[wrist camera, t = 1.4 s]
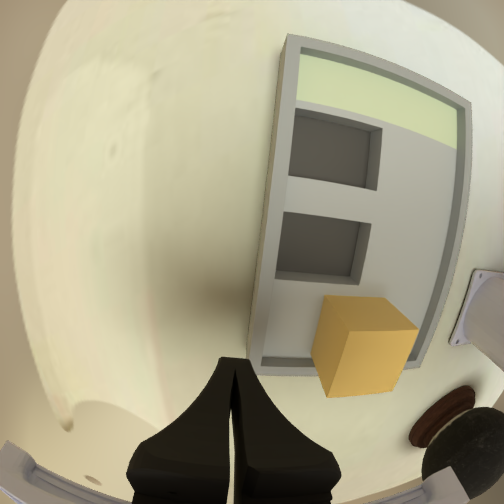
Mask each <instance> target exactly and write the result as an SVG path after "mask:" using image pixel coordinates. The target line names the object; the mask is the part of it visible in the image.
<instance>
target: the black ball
mask: <svg viewBox="0 0 504 504" xmlns="http://www.w3.org/2000/svg"><path fill="white" fill-rule="evenodd" d="M474 404H475V392H474V390H473V389H472V388H471V387H470V386H463V387H459V388H457V389H455V390H453V391H452V392H450V393H448V394H447V395H445V396H444V397H442V398H441V399H440V400H439V401H437V402H436V403H435V404H434V405H433V406H431V407H430V408H429V409H428V410H427V411H426V412H425V413H424V414H423V415H422V416H421V417H420V419H419V420H418V421H417V422H416V423H415V425H414V426H413V428H412V429H411V431H410V434H409V441H410V442H411V444H412V445H413V446H416V447H419V448H426V447H427V449H426V451H425V455H424V458H423V462H422V480H423V481H424V480H425V479H427V478H428V477H429V476H431V475H432V474H434V473H436V472H438V471H441V470H443V469H445V468H447V467H449V466H451V468H452V470H453V471H454V473H455V475H456V476H457V478H458V480H459V481H460V483H461V485H462V487H463V488H464V490H465V492H466V494H467V495H468V497H469V499H473V498H475V497H477V496H479V495H481V494H482V493H484V492H485V491H486V490H488V489H489V488H491V486H493V485H494V484H495V483H496V482H497V481H498V480H499V478H500V477H501V476H502V474H503V473H504V413H503V412H501V411H498V410H496V409H494V408H489V407H478V408H473V407H474Z"/></svg>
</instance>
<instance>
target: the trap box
mask: <svg viewBox="0 0 504 504" xmlns="http://www.w3.org/2000/svg"><path fill="white" fill-rule="evenodd" d="M471 167H472V109H471V102H469V101H468V100H466V99H464V98H463V97H461V96H459V95H458V94H456V93H454V92H453V91H451V90H449V89H447V88H445V87H444V86H442V85H440V84H438V83H436V82H434V81H432V80H430V79H428V78H426V77H424V76H422V75H420V74H418V73H415V72H413V71H411V70H409V69H407V68H404V67H402V66H399V65H397V64H395V63H392V62H390V61H387V60H384V59H382V58H379V57H376V56H373V55H371V54H368V53H365V52H362V51H358V50H355V49H352V48H349V47H345V46H342V45H338V44H334V43H330V42H326V41H322V40H318V39H313V38H309V37H304V36H299V35H293V34H287V37H286V40H285V42H284V45H283V48H282V52H281V55H280V65H279V74H278V83H277V92H276V101H275V110H274V119H273V128H272V137H271V146H270V155H269V164H268V172H267V181H266V190H265V198H264V207H263V215H262V224H261V232H260V240H259V249H258V257H257V265H256V274H255V282H254V290H253V298H252V306H251V314H250V322H249V330H248V338H247V346H246V359H249V360H250V361H251V364H252V367H253V369H254V371H255V374H256V375H265V376H318V373H317V370H316V367H315V365H314V362H313V359H312V357H311V354H310V353H311V349H312V346H313V342H314V338H315V334H316V330H317V326H318V322H319V317H320V313H321V309H322V304H323V300H324V295H340V296H359V297H383V298H386V299H387V300H388V301H389V302H390V303H391V304H393V305H394V306H395V307H396V308H397V309H398V310H399V311H400V312H401V313H402V314H403V315H405V316H406V317H407V318H408V319H409V320H410V321H411V322H412V323H413V324H414V325H415V326H416V327H417V328H418V329H419V332H418V334H417V337H416V340H415V342H414V345H413V347H412V349H411V352H410V354H409V357H408V359H407V361H406V363H405V366H404V368H403V370H405V369H413V368H419V367H420V365H421V363H422V361H423V359H424V356H425V354H426V352H427V349H428V347H429V345H430V342H431V340H432V338H433V335H434V333H435V330H436V327H437V325H438V322H439V319H440V317H441V314H442V311H443V308H444V305H445V302H446V299H447V296H448V293H449V289H450V286H451V282H452V279H453V275H454V272H455V268H456V264H457V260H458V256H459V251H460V247H461V242H462V237H463V232H464V226H465V220H466V214H467V207H468V200H469V191H470V180H471Z"/></svg>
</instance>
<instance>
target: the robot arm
mask: <svg viewBox="0 0 504 504" xmlns="http://www.w3.org/2000/svg"><path fill="white" fill-rule="evenodd" d="M469 343H472V344H473V345H475V346H476V347H477V348H478V349H479V350H480V351H482V352H483V353H484V354H485V355H486V356H487V357H488V358H489V359H491V360H492V361H493V362H494V363H495V364H496V365H497V366H498V367H499V368H500V369H501V370H503V371H504V273H503V272H495V271H487V270H478V269H476V270H475V271H474V272H473V275H472V279H471V282H470V286H469V289H468V292H467V296H466V299H465V302H464V305H463V308H462V310H461V313H460V316H459V319H458V321H457V324H456V327H455V329H454V332H453V334H452V336H451V339H450V342H449V344H450V345H451V346H457V345H463V344H469ZM230 411H231V413H232V425H233V436H234V449H235V462H234V504H331V502H330V501H331V500H332V494H331V490H332V489H333V487H334V486H335V485H336V484H337V483H338V481H339V480H340V478H341V471H340V468H339V465H338V463H337V461H336V459H335V457H334V455H333V453H332V452H330V451H328V450H327V449H325V448H323V447H322V446H320V445H318V444H316V443H315V442H313V441H312V440H311V439H309V438H308V437H306V436H305V435H304V434H303V433H302V432H300V431H299V430H298V429H297V428H296V427H295V426H294V425H292V424H291V423H290V422H289V421H288V420H287V419H286V418H285V417H284V415H283V414H282V413H281V412H280V411H279V410H278V408H277V407H276V406H275V405H274V403H273V402H272V401H271V399H270V398H269V396H268V395H267V393H266V392H265V390H264V388H263V387H262V385H261V383H260V382H259V380H258V378H257V376H256V374H255V371H254V369H253V367H252V364H251V361H250V360H249V359H242V358H229V357H221V358H219V361H218V364H217V366H216V369H215V371H214V373H213V375H212V376H211V378H210V380H209V381H208V383H207V385H206V386H205V388H204V389H203V390H202V392H201V393H200V394H199V396H198V397H197V398H196V400H195V401H194V402H193V403H192V404H191V405H190V406H189V407H188V408H187V410H185V411H184V412H183V413H182V414H181V415H180V416H179V417H178V418H177V419H176V420H175V421H173V422H172V423H171V424H170V425H168V426H167V427H165V428H164V429H163V430H161V431H160V432H158V433H157V434H155V435H154V436H152V437H150V438H148V439H147V440H145V441H143V442H141V443H140V444H139V446H138V447H137V449H136V450H135V452H134V454H133V456H132V458H131V460H130V462H129V466H128V469H127V472H126V476H127V479H128V481H129V482H130V484H131V486H132V487H133V489H134V491H135V492H134V496H133V501H132V502H128V501H125V500H122V499H118V498H115V497H112V496H109V495H106V494H103V493H101V492H98V491H95V490H92V489H90V488H87V487H85V486H82V485H80V484H77V483H75V482H73V481H71V480H68V479H66V478H64V477H62V476H60V475H58V474H56V473H54V472H52V471H50V470H47V469H46V468H44V467H42V466H40V465H38V464H37V463H36V462H35V460H34V459H33V458H32V457H31V455H29V454H28V453H27V452H26V451H24V450H23V449H21V448H20V447H18V446H16V445H15V444H13V443H12V442H10V441H6V443H5V444H4V446H3V447H2V449H1V450H0V489H1V490H2V491H3V492H4V493H5V494H6V495H7V496H8V497H10V498H11V499H12V500H13V501H14V502H16V503H17V504H226V503H227V496H228V489H229V482H230V456H229V418H230ZM469 500H470V499H469V497H468V495H467V494H466V492H465V490H464V488H463V487H462V485H461V483H460V481H459V480H458V478H457V476H456V475H455V473H454V471H453V470H452V468H451V466H449V467H447V468H445V469H443V470H441V471H438V472H436V473H434V474H432V475H431V476H429V477H428V478H427V479H425V480H424V481H423V483H422V484H421V485H418V486H416V487H413V488H411V489H408V490H406V491H403V492H400V493H397V494H394V495H392V496H389V497H385V498H382V499H379V500H375V501H372V502H368V503H365V504H466V503H467V502H468V501H469Z"/></svg>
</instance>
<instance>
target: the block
mask: <svg viewBox="0 0 504 504" xmlns="http://www.w3.org/2000/svg"><path fill="white" fill-rule="evenodd" d="M418 332H419V329H418V328H417V327H416V326H415V325H414V324H413V323H412V322H411V321H410V320H409V319H408V318H407V317H406V316H405V315H403V314H402V313H401V312H400V311H399V310H398V309H397V308H396V307H395V306H394V305H393V304H391V303H390V302H389V301H388V300H387V299H386V298H383V297H359V296H340V295H324V300H323V304H322V309H321V313H320V317H319V322H318V326H317V330H316V334H315V338H314V342H313V346H312V349H311V353H310V354H311V357H312V359H313V362H314V365H315V367H316V370H317V373H318V376H319V378H320V381H321V384H322V386H323V389H324V392H325V395H326V397H327V398H333V397H347V396H357V395H367V394H375V393H382V392H389V391H393V389H394V387H395V385H396V383H397V380H398V378H399V376H400V374H401V372H402V370H403V368H404V366H405V363H406V361H407V359H408V357H409V354H410V352H411V349H412V347H413V345H414V342H415V340H416V337H417V334H418Z"/></svg>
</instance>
